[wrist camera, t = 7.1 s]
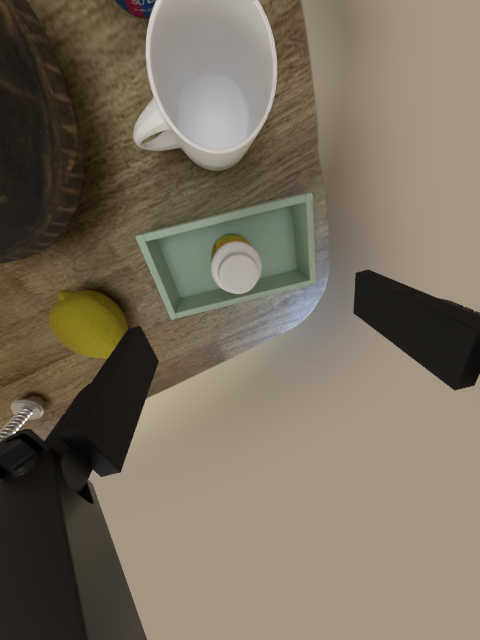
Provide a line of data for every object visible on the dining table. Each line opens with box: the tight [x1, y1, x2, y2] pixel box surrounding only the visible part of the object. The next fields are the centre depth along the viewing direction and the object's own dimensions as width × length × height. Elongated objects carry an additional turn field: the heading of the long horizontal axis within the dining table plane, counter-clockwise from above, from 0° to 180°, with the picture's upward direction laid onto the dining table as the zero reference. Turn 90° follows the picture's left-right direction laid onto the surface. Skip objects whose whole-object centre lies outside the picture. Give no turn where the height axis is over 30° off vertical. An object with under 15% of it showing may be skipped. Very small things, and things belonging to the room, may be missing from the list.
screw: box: [0, 395, 45, 442], centre depth 33 cm, size 13×5×5 cm
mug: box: [133, 0, 277, 171], centre depth 19 cm, size 9×12×11 cm
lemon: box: [49, 290, 128, 359], centre depth 29 cm, size 11×8×8 cm
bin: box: [135, 192, 316, 320], centre depth 28 cm, size 20×11×6 cm, turn 102°
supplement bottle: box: [211, 233, 262, 294], centre depth 25 cm, size 6×6×10 cm
